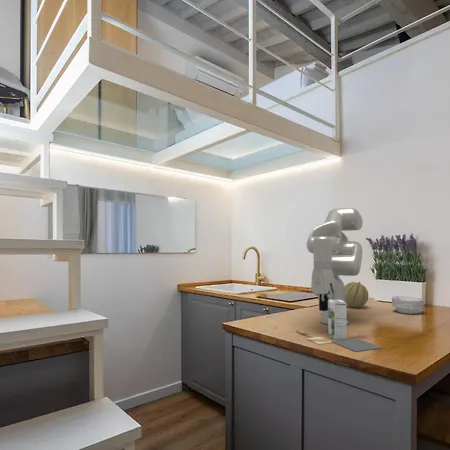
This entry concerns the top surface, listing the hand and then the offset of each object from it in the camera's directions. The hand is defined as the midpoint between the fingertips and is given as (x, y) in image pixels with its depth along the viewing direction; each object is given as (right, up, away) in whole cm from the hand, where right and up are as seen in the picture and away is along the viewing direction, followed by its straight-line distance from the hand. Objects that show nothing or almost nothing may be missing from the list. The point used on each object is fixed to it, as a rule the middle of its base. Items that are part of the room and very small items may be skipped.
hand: (323, 310), depth 143 cm
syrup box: (+3, -9, -8) cm, 13 cm away
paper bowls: (+58, -12, +42) cm, 72 cm away
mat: (+7, -8, -18) cm, 21 cm away
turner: (-7, -9, -8) cm, 14 cm away
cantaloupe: (+35, -13, +57) cm, 68 cm away
